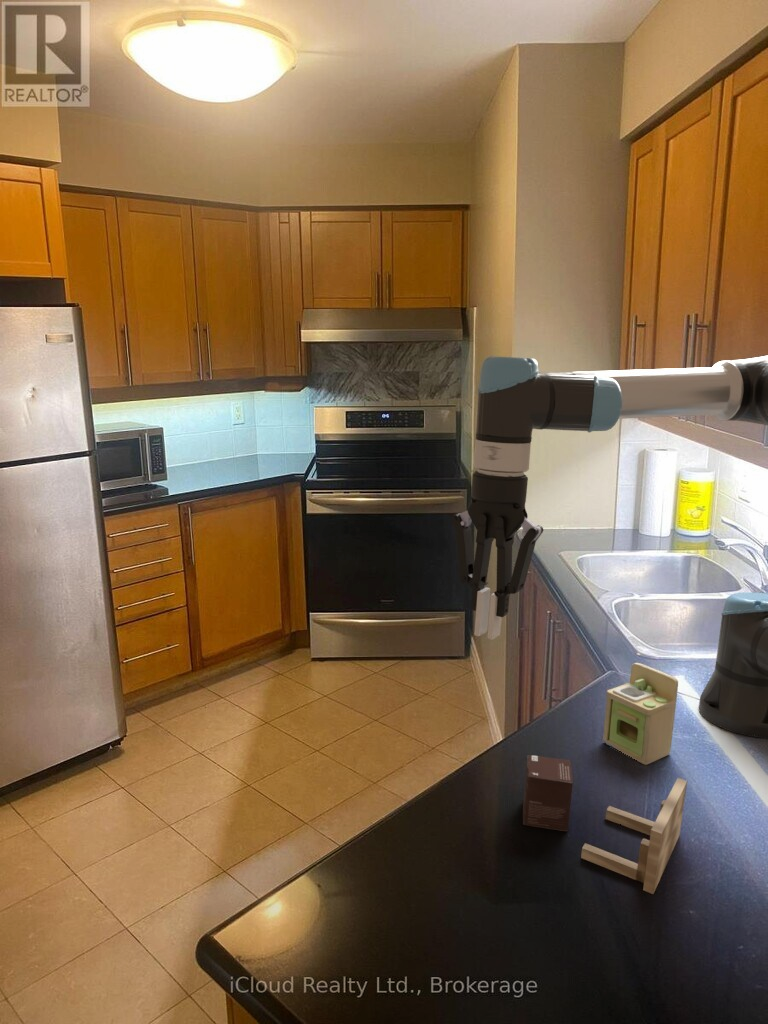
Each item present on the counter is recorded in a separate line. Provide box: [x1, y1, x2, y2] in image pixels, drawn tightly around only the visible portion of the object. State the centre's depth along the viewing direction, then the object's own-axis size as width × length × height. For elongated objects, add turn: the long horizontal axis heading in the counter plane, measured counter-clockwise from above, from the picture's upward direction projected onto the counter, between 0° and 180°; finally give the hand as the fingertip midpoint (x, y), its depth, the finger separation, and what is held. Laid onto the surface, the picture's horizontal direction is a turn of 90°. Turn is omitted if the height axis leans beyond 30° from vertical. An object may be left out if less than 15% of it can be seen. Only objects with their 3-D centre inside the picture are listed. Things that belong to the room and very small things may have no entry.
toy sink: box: [602, 662, 679, 766], centre depth 121 cm, size 8×7×13 cm
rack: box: [580, 777, 688, 895], centre depth 95 cm, size 14×9×8 cm, turn 147°
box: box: [522, 754, 574, 832], centre depth 102 cm, size 6×6×7 cm
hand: (487, 634), depth 107 cm, fingers closed
